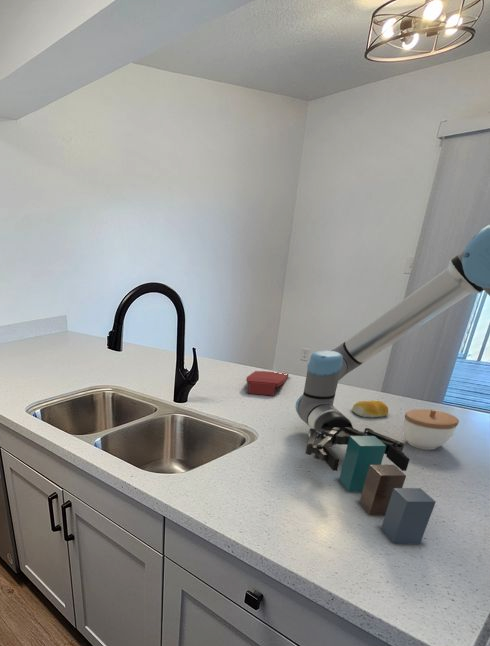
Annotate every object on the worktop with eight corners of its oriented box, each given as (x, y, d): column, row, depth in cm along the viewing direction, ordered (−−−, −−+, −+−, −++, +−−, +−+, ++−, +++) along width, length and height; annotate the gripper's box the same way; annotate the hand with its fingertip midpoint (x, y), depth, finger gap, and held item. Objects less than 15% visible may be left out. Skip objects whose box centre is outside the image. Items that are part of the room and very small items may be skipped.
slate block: (406, 529, 81) (420, 488, 77) (420, 544, 77) (436, 501, 73) (380, 528, 82) (393, 487, 78) (393, 543, 78) (407, 501, 74)
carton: (254, 383, 174) (242, 392, 153) (255, 370, 172) (244, 378, 151) (286, 386, 168) (279, 396, 147) (288, 373, 166) (281, 382, 146)
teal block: (362, 480, 98) (374, 435, 93) (373, 492, 93) (386, 445, 88) (338, 480, 98) (349, 436, 93) (348, 491, 94) (360, 446, 89)
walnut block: (382, 502, 89) (393, 464, 85) (393, 515, 85) (406, 475, 81) (358, 502, 90) (369, 464, 86) (369, 515, 86) (380, 475, 82)
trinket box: (423, 456, 106) (435, 420, 101) (387, 439, 115) (397, 405, 111) (459, 450, 107) (473, 415, 103) (421, 433, 117) (432, 400, 113)
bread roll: (393, 416, 128) (396, 403, 126) (365, 419, 127) (368, 407, 125) (372, 407, 135) (375, 394, 134) (346, 410, 134) (349, 397, 133)
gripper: (379, 438, 109) (430, 480, 90) (275, 439, 111) (304, 480, 93) (387, 410, 105) (442, 448, 86) (280, 411, 108) (310, 449, 89)
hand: (371, 465), depth 89 cm, fingers open, 13 cm apart
